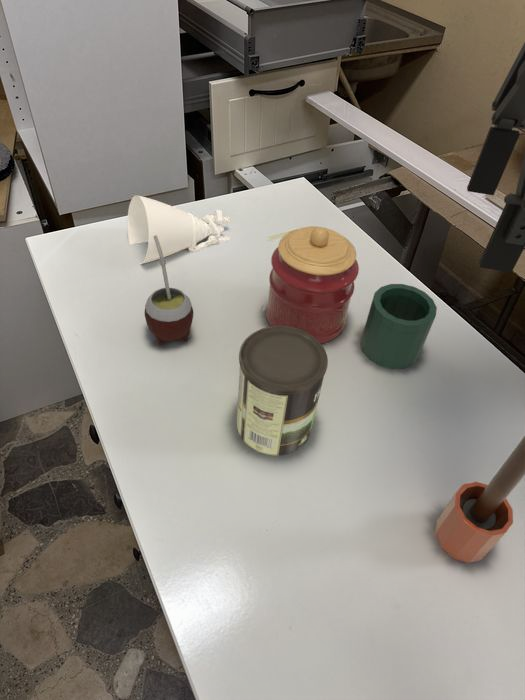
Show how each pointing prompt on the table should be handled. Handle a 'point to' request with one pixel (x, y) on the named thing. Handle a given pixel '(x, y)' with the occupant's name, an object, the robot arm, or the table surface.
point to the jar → (397, 325)
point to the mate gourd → (168, 310)
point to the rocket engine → (171, 227)
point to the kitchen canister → (312, 282)
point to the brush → (496, 490)
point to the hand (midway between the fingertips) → (486, 226)
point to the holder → (470, 526)
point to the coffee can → (279, 388)
